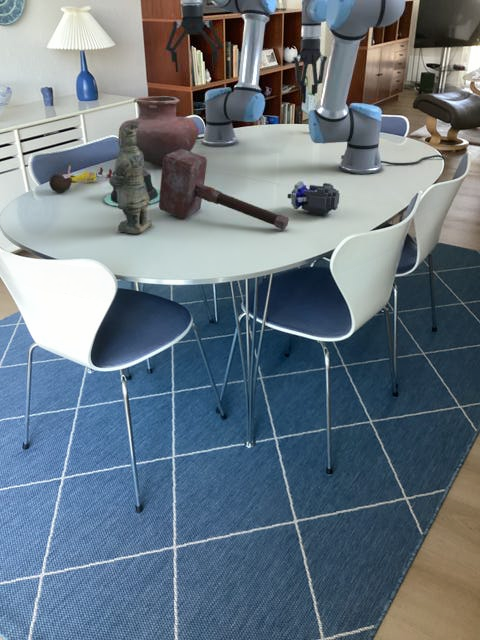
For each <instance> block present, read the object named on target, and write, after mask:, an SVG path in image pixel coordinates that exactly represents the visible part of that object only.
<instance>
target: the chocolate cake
mask: <svg viewBox="0 0 480 640" xmlns="http://www.w3.org/2000/svg"><path fill="white" fill-rule="evenodd" d="M113 175H114V171H112V175H111V176H113ZM143 178H144V182H145V184H146V188H147V192H148V195H149V197H150V204H154V203H157V202H159V198H160V188H156V187H154V185H153V182H152V174H151V172H149V171H148V170H146V169H144V168H143ZM103 200H104V202H105V203H106V204H108V205H109V206H115V207H118V202H117V192H116V189H115V188H114V187H112V191H111V193H108V194H107V195H106V196H104V198H103ZM150 204H149V205H150Z"/></svg>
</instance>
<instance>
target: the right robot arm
mask: <svg viewBox="0 0 480 640" xmlns="http://www.w3.org/2000/svg"><path fill="white" fill-rule="evenodd" d="M405 8H406V0H301V28H300V29H301V32H300V37H301V39H300V52H299V53H298V55H296V56H293V58H292V59H293V62H294V72H295V73H294V74H295V83H296V84H297V85H299V87H300V88H299V93H300V95H302V97H301V99H302V100H301V103H302V102H303V103H305V101H306V85H304V83H306V76H307V71H308V67H309V65H311V68H312V69H311V70H312V78H313V84H311V94H313V95H314V96H315V95H316V94H318V89H319V88H318V86H319V85H320V84H323V87H322V88H323V89H322V95H321V99H320V100H318V101H317V102H316V101H315V98H316V96H315V98H314V103H315V102H316V104H315V107H314V110H310V111H309V114H307V116H308V117H307V124H308V125H307V126H308V132H309V136H310V139H311V142H313V143H314V144H323V145H325V144H334V143H335V144H336V143H346V149H345V151H344V154H343V155H341V156H340V157H341V158H340V160H341V162H340V170H341V171H343V172H345V173H349V174H355V175H356V174H357V175H369V174H370V175H371V174H376V173H378V172H380V171H382V164H386V165H392V166H393V165H394V166H408V165H417V164H419V163H421V162H422V161H423V160H424V161H425V160H429V159H432V158H433V159H434V158H441V159H442V160H443V161H445V160H446V157H445V156H443V155H441V154H434V155H429V156H424V157H421V158H420V159H419V160H417V161H410V162H393V161H392V162H391V161H387V160H381V155H380V150H379V147H380V145H379V144H380V138H381V137H380V136H381V129H382V128H381V127H382V121H383V120H382V115H383V114H382V113H383V112H382V109H381V107H379V106H377V105H372V104H367V103H361V102H360V103H359V102H353V103H350V104H349V106H348V105H347V99H348V95H349V90H350V86H351V82H352V78H353V73H354V70H355V65H356V60H357V57H358V52H359V47H360V44H361V41H362V40H364V39H366V37H367V34H368V31H369V28H371V29H373V28H384V27H387V26H390V25H392V24H394V23H396V22H397V21H398V20H399V19H400V18H401V17H402V16H403V13H404V12H405ZM322 23H326V26H327V28H328V29H329V33H330V34H331V36H332V42H331V47H330V51H329V57H327V56H326V55H323V54H322V52H321V38H320V37H321V36H322ZM327 59H328V62H327ZM300 61H302V62H303V63H302V71H301V74H300ZM318 61H320V63H319V72H318V67H317V62H318ZM326 62H327V67H326ZM325 67H326V73H325ZM324 73H325V74H324ZM324 75H325V79H324ZM323 82H324V83H323Z"/></svg>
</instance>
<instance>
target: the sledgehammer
mask: <svg viewBox="0 0 480 640" xmlns="http://www.w3.org/2000/svg"><path fill="white" fill-rule="evenodd" d="M207 164H208V159H207V158H206V157H205V156H203V155H200V154H197V153H195V152H193V151H187V150H184V149H179V150H177V151H174V152H172V153H170V154H167V155H165V156H164V158H163V165H161V166H162V167H161V176H160V187H159V190H160V198H159V200H158V208H159V210H160V211H162V212H165V213H168V214H170V215H173V216H174V217H177V218H180V219H182V220H185V219H187V218H188V217H190V216H192V215H193V214H195V213H197V212H198V211H199V210H200V209H201V207H202V201H203V200H204V201H207V202H209V203H213V204H215V205H220V206H223V207H225V208H228V209H231V210H233V211H236V212H239V213H241V214H243V215H245V216H248V217H252V218H255V219H257V220H260V221H262V222H264V223H267V224H270V225H273V226H274V228H276V229H280V230H282V231H285V230H286V228H287V227H288V224H289V221H290V218H289V217H288V216H286V215H283V214H281V213H279V214H277V213H275V212H273V211H269V210H267V209H265V208H262V207H259V206H256V205H254V204H251V203H248V202H246V201H244V200H242V199H238V198H236V197H233V196H231V195H228V194H225V193H223V192H222V191H220V190H218V189H215V188H214V187H211V186H208V185H205V181H206V175H207Z"/></svg>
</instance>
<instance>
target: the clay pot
mask: <svg viewBox="0 0 480 640" xmlns="http://www.w3.org/2000/svg"><path fill="white" fill-rule="evenodd" d="M180 101H181V100H180V99H178V98H177V97H175V96H166V95H161V96H160V95H159V96H143V97H136V98H134V99H133V102H134V103H136V105H138V108H139V115H138V117H136V118H133V119H128V120H125V121H123V122H122V123H121V124H120V126H119V128H118V134H119V133H120V130H121V129H123V128H124V127H125V126H126V125H127V124H128V123H131V122H133V121H137V122H138V123H139V127H138V130H137V131H136V138H137V143H136V146H137V147H138V149H139V150H141V151H142V153H143V156H144V162H146V163H149V164H153V165H158V166H163V158H164V156H165V155H167V154H170V153H172V152H174V151H177V150H179V149H184V150H187V151H190V152H192V149H193V148H194V147H195V146H196V142H197V141H198V139H197V138H198V137H199V134H200V129H199V126H198V124H197V123H196V122H195V120H194V119H192V118H190V117H187V116H177V106H178V104H179V103H180Z"/></svg>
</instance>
